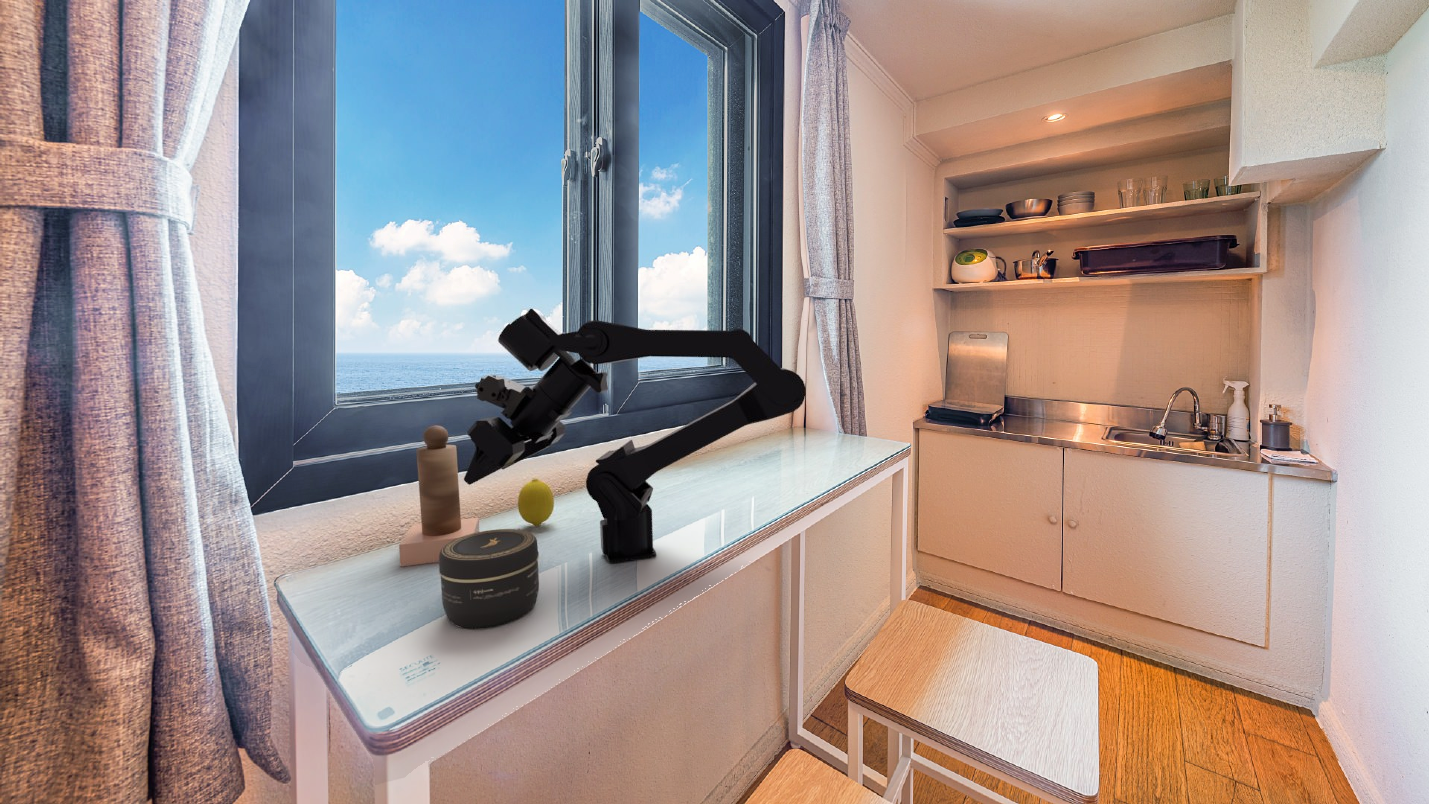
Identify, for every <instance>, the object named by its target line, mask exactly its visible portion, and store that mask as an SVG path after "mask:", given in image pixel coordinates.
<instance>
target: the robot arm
mask: <svg viewBox="0 0 1429 804" xmlns="http://www.w3.org/2000/svg"><path fill="white" fill-rule="evenodd" d="M497 341H498V343H499V344H500V345H501V346H502V348H504V349H505V350H506V351H507V352H508V353H510V355H511V356H513V358H514V359H516V360H517V361H518V362H519V363H520V364H521V365H523V367H524V368H526V369H527V370H528V371H529V372H533V371H536V370H537V369H538V370H539V371H540V372H543V371H546V370H547V369H548V370H547V371H546V372H545V374H543V375H542V377H541V378H540V379H539V380H538V381H537V383H535V385H531V386H530V385H528V386H525V385H523V384H520V383H518V382H516V381H514V380H512V379H510V378H507V377H505V376H502V375H497V374H489V375H484V376H483V377H480V381H478V382H476V383H475V385H474V388H475V389H476V399H478V400H480V401H481V402H486V403H489V404H492V405H494V406H497V407H499V408H501V409H503V410H502V411H501V412H500V413H501V414H502V415H503V416H504V418H506V419H508V420H510V421H509V422H510V425H511V426H512V427H511V426H509V424H507V423H506V421H504V420H503V419H502V418H501V417H498V416H495V417H485V418H482V419H478V420H475V421H474V423H473V424H472V425H471V426H470V428H468V430H467V436H468V437H469V438H470V440H471V441H472V443H473V444H474V446H475V450H474V454H473V456H472V458H471V461H470V463H469V465H468V467H467V471H466V473H465V475H464V477H463V481H464V482H465V483H466V484H468V485H469V486H471V485H472V484H474V483H476V482H478V481H480V480H482V479H485V478H486V477H488V476H490V475H492V474H494V473H496V472H498V471H500V470H505V469H507V468H509V467H511V466H513V465H515V464H517V463H519V462H521V461H523V460H524V459H527V458H529V457H531V456H533V455H535V454H537V453H538V452H540V451H544V450H545V449H547V448H549V447H551V446H552V445H554V444H556V443H558V442H559V440H560V439H562V437H563V436H565V433H566V430H565V429H566V428H565V424H564V423H563V422H562V419H565V418H568V417H569V416H570V415H571V414H572V412H573V411H572V408H573V407H575V405H576V404H577V403H578V402H579V401H580V399H582V397H583V396H584V395H585V394H586V393H587V392H588V390H590V388H591V389H593V391H595V392H596V393H597V394H601V393H605V392H606V391H608V389H609V387H608V380H607V378H608V377H607V376H608V373H607V372H606V371H604V372H603V371H602V372H598V371H596V370H595V369H594V368H593V366H592V365H590V364H593V365H601V364H602V365H603V364H604V365H606V364H615V363H620V362H625V361H632V360H638V359H643V358H648V357H654V358H655V357H661V358H662V357H663V358H664V357H665V358H667V357H668V358H672V357H673V358H724V359H725V358H727V359H732V360H733V361H734V362H735V363H736V364H737V365H738V366H739V367H740V368H741V370H743V371H744V372H745V373H746V374H747V376H748V377H750V378H751V380H752V381H753V382H754V383H753V384H751V385H750V386H749V387H748V388H746V389H745V390H744V391H742V392H741V393H740V394H739V395H737V397H735V398H734V399H732V400H730V401H729V402H727V403H725V404H722V405H721V406H719V407H717V408H715V409H714V410H711V411H710V412H708V413H705V414H704V415H703V416H700V417H698V418H697V419H694V420H693V421H691V422H689V423H687V424H685V425H683V426H681V427H679V428H677V429H676V430H674V431H672V432H670V433H668V434H666V435H664V436H663V437H660V438H659V439H657V440H654V441H653V442H651V443H649V444H646V445H642V446H639V447H635V445H634V442H633V439H629V441H627V442H626V443H624V444H623V445H622V446H620V447H619V448H617V449H615V450H608V451H606V452H605V453H604V454H602V455H601V456H600V457H598V458H597V459H595V463H596V464H597V465H595V466H593V467H592V468H591V469H590V470H589V472H587V476H586V480H585V486H586V490H587V493H588V495H589V496H590V497H591V499H592V500H594V501H595V502H596V503H597V506H598V509H599V510H600V513H601V516H602V518H603V519H601V520H600V521H599V529H600V530H599V532H600V533H599V534H600V535H599V536H600V548H601V549H600V550H601V552H602V554H603V555H605V556H606V559H607V561H608V563H610V564H611V563H613V564H614V563H619V562H625V561H627V562H628V561H634V560H642V559H647V558H653V557H656V556H657V551H656V550H655V548H654V539H653V537H654V535H653V534H654V532H653V509H652V508H651V507H650V505H649V504H648V503H649V502H650V500H651V497H652V494H653V490H654V487H653V486H652V485H651V484H649V482H648V481H647V480H649V479H650V478H651V477H652V476H654V474H656V473H658V472H659V471H660V470H663V469H665V468H667V467H668V466H669V467H670V466H671V465H672V464H674V463H676V462H679V461H680V460H681V459H684V458H686V457H687V456H691V455H692V454H694V453H696V452H697V451H699V450H701V449H703V448H706V447H707V446H709V445H710V444H714V442H716V441H718V440H721V439H722V438H724V437H726V436H728V435H730V434H733V432H736V431H737V430H739V429H741V428H743V427H745V426H748V425H753V424H755V423H760V422H761V423H762V422H764V421H769V420H772V419H775V418H779V417H782V416H785V415H788V414H791V413H794V412H795V411H797V410H798V409H799V408H801V406H802V405H803V403H804V400H805V399H806V396H807V395H806V385H805V382H804V380H803V379H802V378H801V376H800V375H799V374H797V372H795V371H793V370H790V369H787V368H784V367H780V366H779V365H778V364H777V363H776V362H775V361H774V359H772V358H771V357H770V356H769V355H768V354H767V353H766V352H765V351H764V350H763V348H761V347H760V346H759V345H758V344H757V343H756V342H755V341H754V340H753V339H752V336H751V334H750V333H749V332H748V331H747V330H745V329H741V328H734V329H730V330H723V329H722V330H713V329H711V330H710V329H709V330H708V329H706V330H705V329H704V330H699V329H698V330H697V329H696V330H695V329H693V330H692V329H691V330H690V329H645V328H640V327H634V326H629V325H625V324H618V323H614V322H608V321H603V320H599V319H597V320H596V319H594V320H588V321H585V322H584V323H583V324H582V325H581V326H580V327H579V328H578V330H577V331H571V332H562V333H561V332H560V331H559V330H558V329H557V328H556V327H555V326H554V325H552V324H551V323H550V321H548V320H547V317H545V315H544V314H543V312H541V311H539V309H535V308H530V309H529V310H528V311H527V312H526V313H525V314H523V315H521V316H519V317H517V318H516V319H514V320H513V321H512V322H510V323H508V324H507V325H506V326H505V327H504V328H503V329H502V331H501V332H500V334H499V336H498V338H497ZM570 353H575V354H578V356H579V357H581V358H580V359H578V360H577V358H575V357H573V356H572V355H571V354H570Z"/></svg>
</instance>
